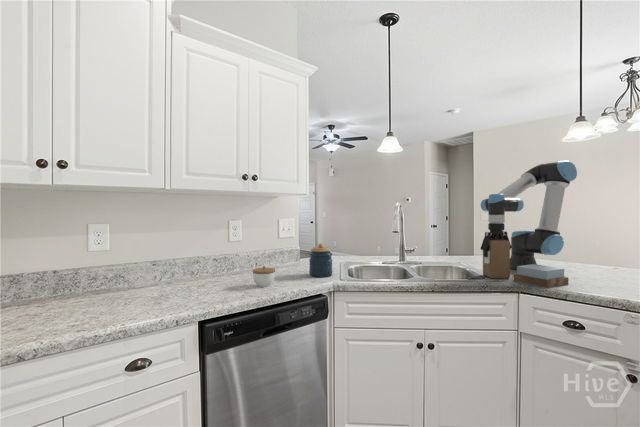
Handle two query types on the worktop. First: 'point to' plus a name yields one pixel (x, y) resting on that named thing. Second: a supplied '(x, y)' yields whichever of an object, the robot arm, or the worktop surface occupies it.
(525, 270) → the tower top
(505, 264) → the block
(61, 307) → the worktop surface
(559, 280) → the tower base
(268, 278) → the lidded jar
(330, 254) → the canister
